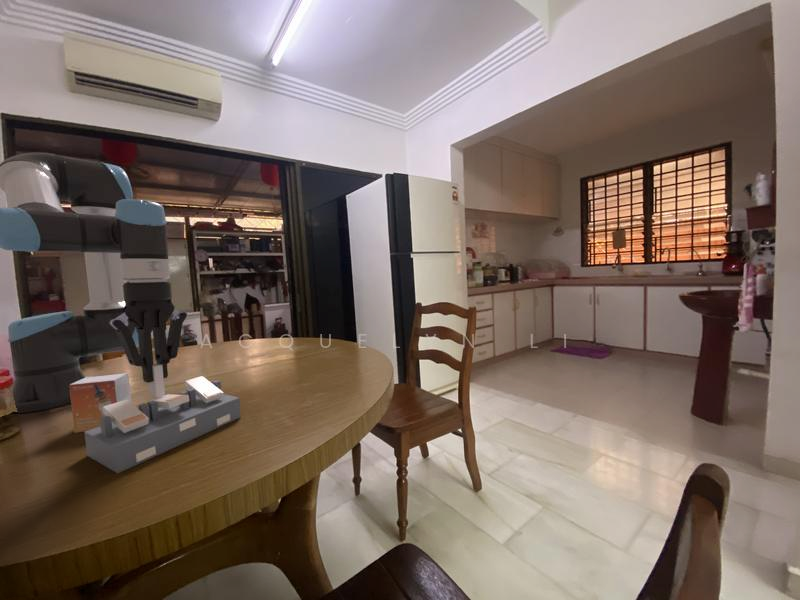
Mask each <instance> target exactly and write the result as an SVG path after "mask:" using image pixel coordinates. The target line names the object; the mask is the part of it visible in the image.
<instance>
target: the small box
mask: <svg viewBox="0 0 800 600" xmlns="http://www.w3.org/2000/svg"><path fill="white" fill-rule="evenodd" d="M85 377H86V378H83V379H81V380H79V381H77V382H75V383H72V384H70V385H69V386H70V396H71V403H70V404H71V405H70V406H71V413H72V424H73V431H74V434H78V433H84V432H85V431H88V430H91V429H94V428H97V427H100V426H101V425H100V418H101V417H104V416H106V415H105V414H104V413H103V407H104V406H107V405H110V404H114V403H117V402H120V401H123V400H129V401H130V402H131V403H132V397H131V396H132V395H131V387H130V386H131V385H130V378H129V377H130V376H129V373H128V372H126V373H125V372H124V373H118V374H109V375H99V376H97V375H96V376H85Z"/></svg>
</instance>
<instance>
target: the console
mask: <svg viewBox="0 0 800 600" xmlns="http://www.w3.org/2000/svg"><path fill="white" fill-rule="evenodd" d="M211 383H212V384H213V385H215V386H216V387H217V388H218V389H220V390H221V391H222V382H221V380H212V382H211ZM178 395H189V401H188V402H186V403H183V404H180V405H177V406H174V407H171V408H161V407H158V405H157V402H156V401H150V402H148V401H147V402H146V403H145V402H144V403H141V404H139V405H137V406H138V407H137V408H138V409H139V410H140V411H141V412H142V413H143V414H145V415H146V416H147V417H148V418H149V424H147V425H144V426H142V427H139V428H136V429H134V430H131V431H128V432H126V433H123V432H122V431H121V430H120V429H119V428H118V427H117V426H116V425H115V424H114V423H113V422H112V420H111V417H110V416H104V417H101V418H100V425H101V426H100V427H97V428H94V429H91V430H88V431H84V432H83V433H84V440H85V447H86V456H87V457H89V458H90V459H92V460H94V461H96V462H97V463H99V464H100V465H102V466H105V467H106V468H107V469H109V470H111V471H113V472H114V473H116V474H119V473H122V472H124V471H127V470H129V469H131V468H133V467H135V466H137V465H140V464H142V463H144V462H146V461H148V460H151V459H153V458H155V457H157V456H159V455H162V454H164V453H166V452H167V451H168V452H169V451H170V450H172V449H175V448H176V447H179V446H181V445H184V444H185V443H187V442H191V441H192V440H195V439H197V438H198V437H201V436H203V435H205V434H208V433H209V432H211V431H214V430H216V429H218V428H221V427H222V426H225V425H228V424H230V423H231V422H234V421H237V420H238V419H239V418H242V416H241V415H242V412H241V403H240V402H241V401H240V397H238V396H233V395H229V394H225V393H223V397H222V398H219V399H216V400H214V401H211V402H208V403H205V402H204V401H203V400H202V399H200V398H199V397H198V396H197V395H196V394H195V389H188V388H187V389H185V390H182V391H179V392H178Z"/></svg>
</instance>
